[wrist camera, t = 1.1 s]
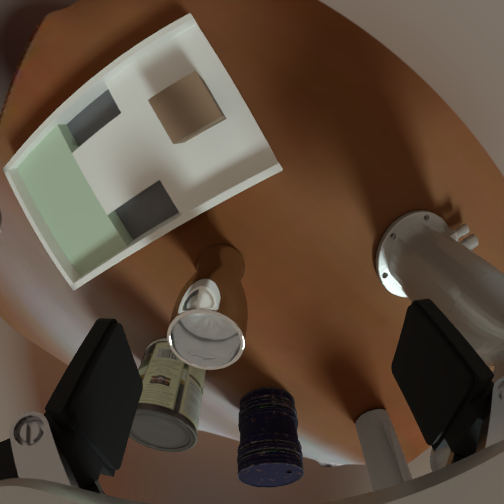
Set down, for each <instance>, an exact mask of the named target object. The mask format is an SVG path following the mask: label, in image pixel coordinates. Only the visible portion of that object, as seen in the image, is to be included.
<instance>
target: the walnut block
mask: <svg viewBox="0 0 504 504" xmlns="http://www.w3.org/2000/svg"><path fill="white" fill-rule="evenodd" d="M148 101H149V103H150V105H151V106H152V108H153V110H154V112H155V113H156V115H157V117H158V119H159V120H160V122H161V124H162V126H163V127H164V129H165V131H166V133H167V134H168V136H169V138H170V139H171V141H172V143H173V144H179V143H185V142H187V141H188V140H190V139H192V138H193V137H195V136H197V135H199V134H200V133H202V132H204V131H206V130H207V129H209V128H211V127H213V126H214V125H216V124H218V123H220V122H222V121H223V120H225V119H226V117H225V115H224V114H223V112H222V110H221V108H220V107H219V105H218V103H217V102H216V100H215V98H214V96H213V95H212V93H211V91H210V90H209V88H208V86H207V85H206V83H205V81H204V80H203V79H202V77H201V76H200V75H199V74H198V73H197V72H196V71H194V72H192V73H190V74H189V75H187V76H185V77H183V78H182V79H180V80H178V81H177V82H175V83H173V84H172V85H170V86H169V87H167V88H165V89H164V90H162V91H161V92H159V93H158V94H156V95H154V96H153V97H151V98H150V99H148Z"/></svg>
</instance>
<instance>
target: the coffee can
mask: <svg viewBox="0 0 504 504" xmlns="http://www.w3.org/2000/svg"><path fill="white" fill-rule="evenodd" d="M138 371H139V374H140V376H141V379H142V382H143V390H142V394H141V397H140V400H139V404H138V407H137V410H136V414H135V417H134V420H133V424H132V427H131V431H130V434H129V437H131V438H132V439H133V440H135V441H136V442H138V443H140V444H142V445H145V446H147V447H149V448H153V449H157V450H161V451H167V452H180V451H185V450H188V449H191V448H192V447H194V445H195V444H196V443H197V430H198V423H199V416H200V408H201V402H202V395H203V388H204V382H205V375H206V371H207V370H205V369H199V368H195V367H192V366H190V365H188V364H186V363H184V362H183V361H181V360H180V359H179V358H178V357H177V356H176V355H175V354H174V353H173V352H172V350H171V349H170V347H169V344H168V341H167V338H162V339H157V340H155V341H153V342H152V343H150V344H149V345H148V347H147V348H146V350H145V354H144V357H143V359H142V362H141V364H140V367H139V369H138Z"/></svg>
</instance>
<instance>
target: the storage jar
mask: <svg viewBox="0 0 504 504" xmlns="http://www.w3.org/2000/svg"><path fill="white" fill-rule="evenodd" d="M238 426H239V431H240V445H239V447H238V458H237V463H238V479H239V480H240V481H241V482H243V483H244V484H247V485H251V486H255V487H278V486H284V485H288V484H291V483H294V482H296V481H298V480H299V479H301V478H302V477H303V475H304V470H303V462H302V461H303V456H302V451H301V449H302V447H301V445H300V442H299V440H298V435H297V427H298V419H297V412H296V409H295V402H294V398H293V396H292V395H291V394H290V393H288V392H287V391H285V390H282V389H278V388H260V389H256V390H253V391H251V392H249V393H247V394H246V395H244V396H243V398H242V399H241V401H240V412H239V424H238Z"/></svg>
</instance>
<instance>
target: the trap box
mask: <svg viewBox="0 0 504 504" xmlns="http://www.w3.org/2000/svg"><path fill="white" fill-rule="evenodd" d="M194 71H196V72H197V73H198V74H199V75H200V76H201V77H202V79H203V80H204V81H205V83H206V85H207V86H208V88H209V90H210V91H211V93H212V95H213V96H214V98H215V100H216V102H217V103H218V105H219V107H220V108H221V110H222V112H223V114H224V115H225V117H226V119H225V120H223V121H222V122H220V123H218V124H216V125H214V126H213V127H211V128H209V129H207V130H206V131H204V132H202V133H200V134H199V135H197V136H195V137H193V138H192V139H190V140H188V141H187V142H185V143H179V144H173V143H172V141H171V139H170V138H169V136H168V134H167V133H166V131H165V129H164V127H163V126H162V124H161V122H160V120H159V119H158V117H157V115H156V113H155V112H154V110H153V108H152V106H151V105H150V103H149V101H148V99H150V98H151V97H153V96H154V95H156V94H158V93H159V92H161V91H162V90H164V89H165V88H167V87H169V86H170V85H172V84H173V83H175V82H177V81H178V80H180V79H182V78H183V77H185V76H187V75H189V74H190V73H192V72H194ZM3 170H4V173H5V175H6V177H7V179H8V181H9V183H10V185H11V187H12V189H13V192H14V194H15V196H16V198H17V199H18V201H19V203H20V205H21V207H22V209H23V211H24V213H25V215H26V216H27V218H28V220H29V222H30V224H31V225H32V227H33V229H34V231H35V232H36V234H37V236H38V237H39V239H40V241H41V242H42V244H43V246H44V247H45V249H46V251H47V252H48V254H49V255H50V257H51V258H52V260H53V262H54V263H55V265H56V266H57V268H58V269H59V271H60V272H61V274H62V275H63V277H64V278H65V279H66V281H67V282H68V284H69V285H70V287H71V288H72V289H73V291H74V290H76V289H77V288H79V287H80V286H82V285H83V284H85V283H86V282H88V281H90V280H91V279H93V278H94V277H96V276H97V275H99V274H100V273H102V272H104V271H105V270H107V269H108V268H110V267H111V266H113V265H115V264H116V263H118V262H120V261H121V260H123V259H124V258H126V257H128V256H129V255H131V254H133V253H134V252H136V251H137V250H139V249H141V248H142V247H144V246H146V245H147V244H149V243H151V242H152V241H154V240H156V239H158V238H159V237H161V236H163V235H164V234H166V233H168V232H169V231H171V230H173V229H175V228H176V227H178V226H180V225H182V224H183V223H185V222H187V221H189V220H190V219H192V218H194V217H196V216H198V215H199V214H201V213H203V212H205V211H206V210H208V209H210V208H212V207H214V206H216V205H217V204H219V203H221V202H223V201H225V200H227V199H228V198H230V197H232V196H234V195H236V194H238V193H240V192H242V191H243V190H245V189H247V188H249V187H251V186H253V185H255V184H257V183H259V182H261V181H263V180H265V179H266V178H268V177H270V176H272V175H274V174H276V173H278V172H280V171H282V170H283V169H282V167H281V165H280V163H279V162H278V161H277V159H276V157H275V156H274V154H273V152H272V150H271V148H270V146H269V144H268V143H267V141H266V139H265V137H264V135H263V133H262V132H261V130H260V128H259V126H258V124H257V123H256V121H255V119H254V117H253V116H252V114H251V112H250V110H249V108H248V107H247V105H246V103H245V102H244V100H243V98H242V96H241V95H240V93H239V91H238V90H237V88H236V86H235V84H234V83H233V81H232V79H231V78H230V76H229V74H228V73H227V71H226V69H225V68H224V66H223V65H222V63H221V61H220V60H219V58H218V56H217V55H216V53H215V52H214V50H213V48H212V47H211V45H210V44H209V42H208V41H207V39H206V37H205V36H204V34H203V33H202V31H201V30H200V28H199V27H198V25H197V24H196V22H195V20H194V18H193V16H192V15H191V13H189V14H187V15H185V16H184V17H182V18H180V19H178V20H176V21H174V22H173V23H171V24H169V25H167V26H166V27H164V28H162V29H161V30H159V31H157V32H156V33H154V34H153V35H151V36H149V37H148V38H146V39H145V40H143V41H142V42H140V43H138V44H137V45H135V46H134V47H133V48H131V49H130V50H128V51H127V52H125V53H124V54H122V55H121V56H120V57H118V58H117V59H116V60H114V61H113V62H112V63H110V64H109V65H108V66H106V67H105V68H104V69H102V70H101V71H100V72H99V73H97V74H96V75H95V76H94V77H92V78H91V79H90V80H89V81H88V82H86V83H85V84H84V85H83V86H82V87H80V88H79V89H78V90H77V91H76V92H75V93H74V94H72V95H71V96H70V97H69V98H68V99H67V100H66V101H65V102H64V103H63V104H62V105H61V106H59V107H58V108H57V109H56V110H55V111H54V112H53V113H52V114H51V115H50V116H49V117H48V118H47V119H46V120H45V121H44V122H43V123H42V124H41V125H40V126H39V128H38V129H37V130H36V131H35V132H34V133H33V134H32V135H31V136H30V137H29V138H28V140H27V141H26V142H25V143H24V144H23V145H22V146H21V148H20V149H19V150H18V151H17V152H16V153H15V155H14V156H13V157H12V158H11V160H10V161H9V162H8V163H7V165H6V166H5V167H4V168H3Z"/></svg>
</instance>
